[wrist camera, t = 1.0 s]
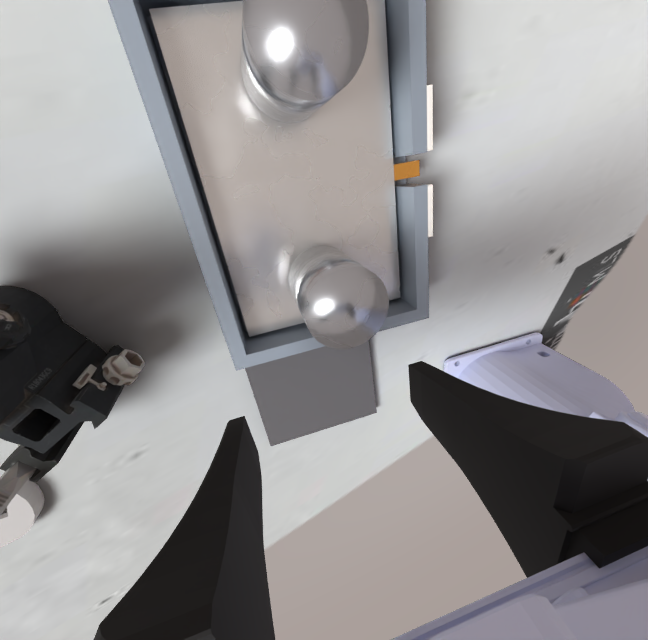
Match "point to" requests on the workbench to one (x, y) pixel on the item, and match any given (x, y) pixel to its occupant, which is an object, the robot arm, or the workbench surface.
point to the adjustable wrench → (21, 513)
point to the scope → (50, 385)
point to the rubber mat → (313, 391)
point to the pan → (285, 161)
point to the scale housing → (166, 121)
